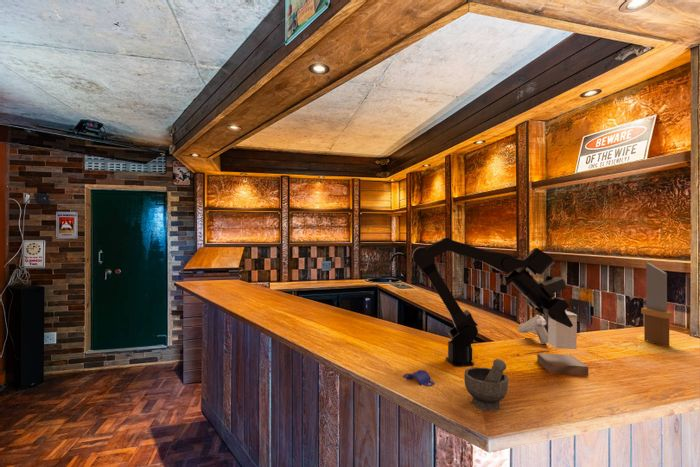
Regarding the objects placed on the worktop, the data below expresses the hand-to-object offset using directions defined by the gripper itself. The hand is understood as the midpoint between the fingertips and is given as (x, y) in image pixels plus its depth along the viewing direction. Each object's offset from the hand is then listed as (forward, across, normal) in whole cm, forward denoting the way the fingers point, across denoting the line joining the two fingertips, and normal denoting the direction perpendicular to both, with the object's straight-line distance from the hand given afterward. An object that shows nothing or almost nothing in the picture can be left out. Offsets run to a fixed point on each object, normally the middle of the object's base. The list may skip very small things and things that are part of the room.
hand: (566, 324), depth 104 cm
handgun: (+11, +32, +8) cm, 35 cm away
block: (+9, 0, +11) cm, 14 cm away
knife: (+42, +34, -23) cm, 59 cm away
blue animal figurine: (-21, -16, +42) cm, 49 cm away
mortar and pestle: (-11, -28, +30) cm, 43 cm away
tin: (+4, 0, +6) cm, 7 cm away
